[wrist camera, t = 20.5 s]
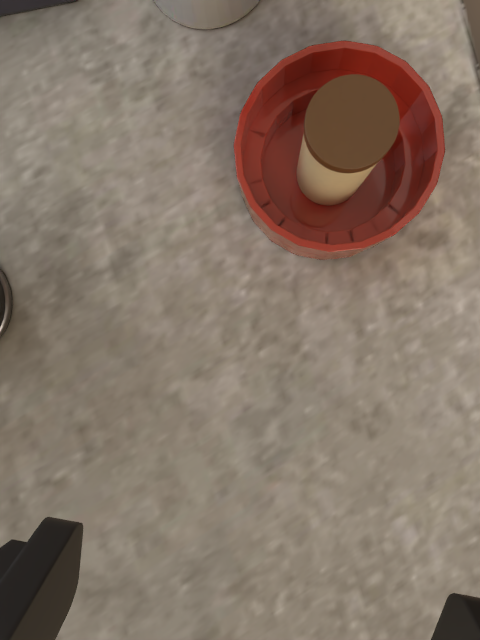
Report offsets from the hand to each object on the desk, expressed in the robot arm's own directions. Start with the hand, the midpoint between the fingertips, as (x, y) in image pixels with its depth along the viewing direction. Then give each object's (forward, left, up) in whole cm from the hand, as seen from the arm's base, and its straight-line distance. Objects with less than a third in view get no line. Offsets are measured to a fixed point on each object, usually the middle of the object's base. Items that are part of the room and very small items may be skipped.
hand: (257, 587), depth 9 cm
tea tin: (-4, +17, -24) cm, 30 cm away
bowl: (-4, +17, -25) cm, 31 cm away
